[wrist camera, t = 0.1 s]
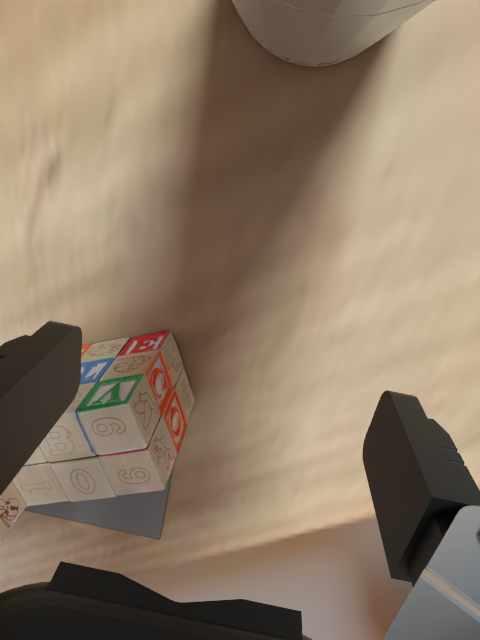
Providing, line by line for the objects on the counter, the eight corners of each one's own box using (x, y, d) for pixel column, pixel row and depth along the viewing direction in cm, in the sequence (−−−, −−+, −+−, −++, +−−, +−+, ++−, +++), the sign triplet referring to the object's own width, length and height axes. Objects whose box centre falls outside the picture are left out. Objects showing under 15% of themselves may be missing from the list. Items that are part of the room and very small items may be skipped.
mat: (-63, 397, 36) (-66, 400, 35) (175, 450, 36) (174, 452, 35) (-49, 491, 41) (-52, 493, 40) (160, 536, 41) (159, 539, 40)
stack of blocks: (172, 325, 31) (109, 442, 19) (197, 398, 33) (153, 540, 22) (-81, 373, 34) (-256, 495, 23) (-43, 436, 37) (-184, 573, 26)
